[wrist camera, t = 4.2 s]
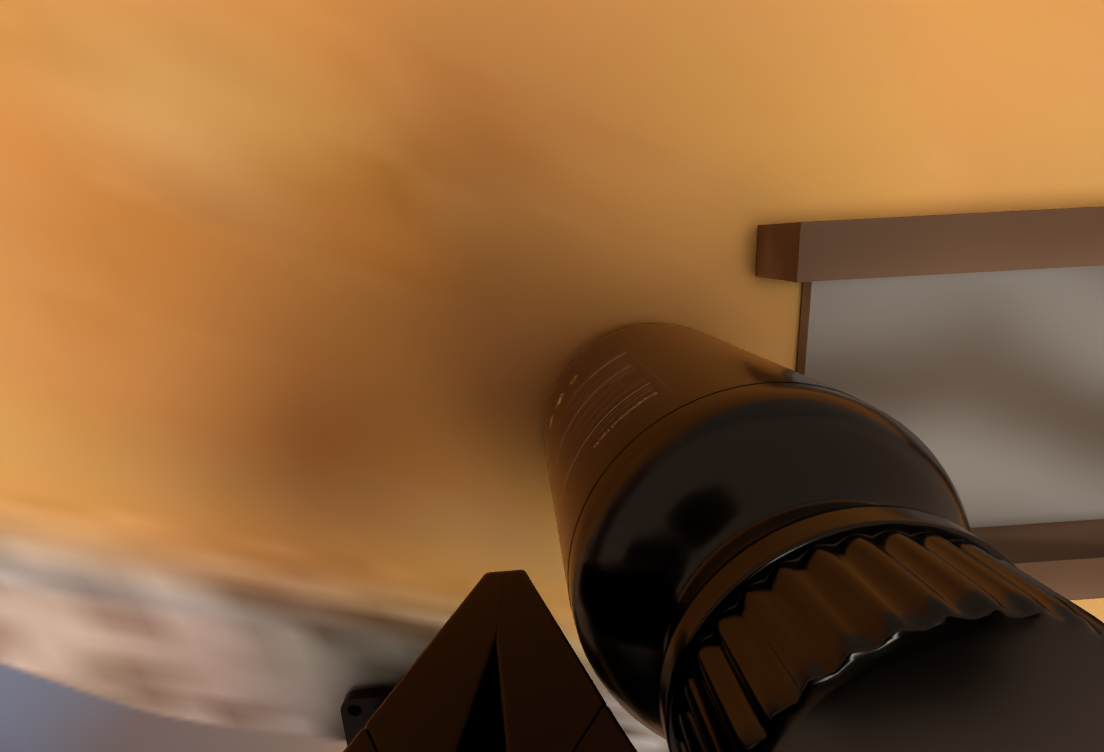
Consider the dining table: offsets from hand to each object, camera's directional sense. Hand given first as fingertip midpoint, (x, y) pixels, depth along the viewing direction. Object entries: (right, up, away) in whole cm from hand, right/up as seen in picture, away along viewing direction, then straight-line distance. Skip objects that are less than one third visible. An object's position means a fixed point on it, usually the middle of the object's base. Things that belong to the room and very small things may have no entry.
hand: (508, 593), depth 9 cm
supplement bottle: (+4, +2, +8) cm, 9 cm away
